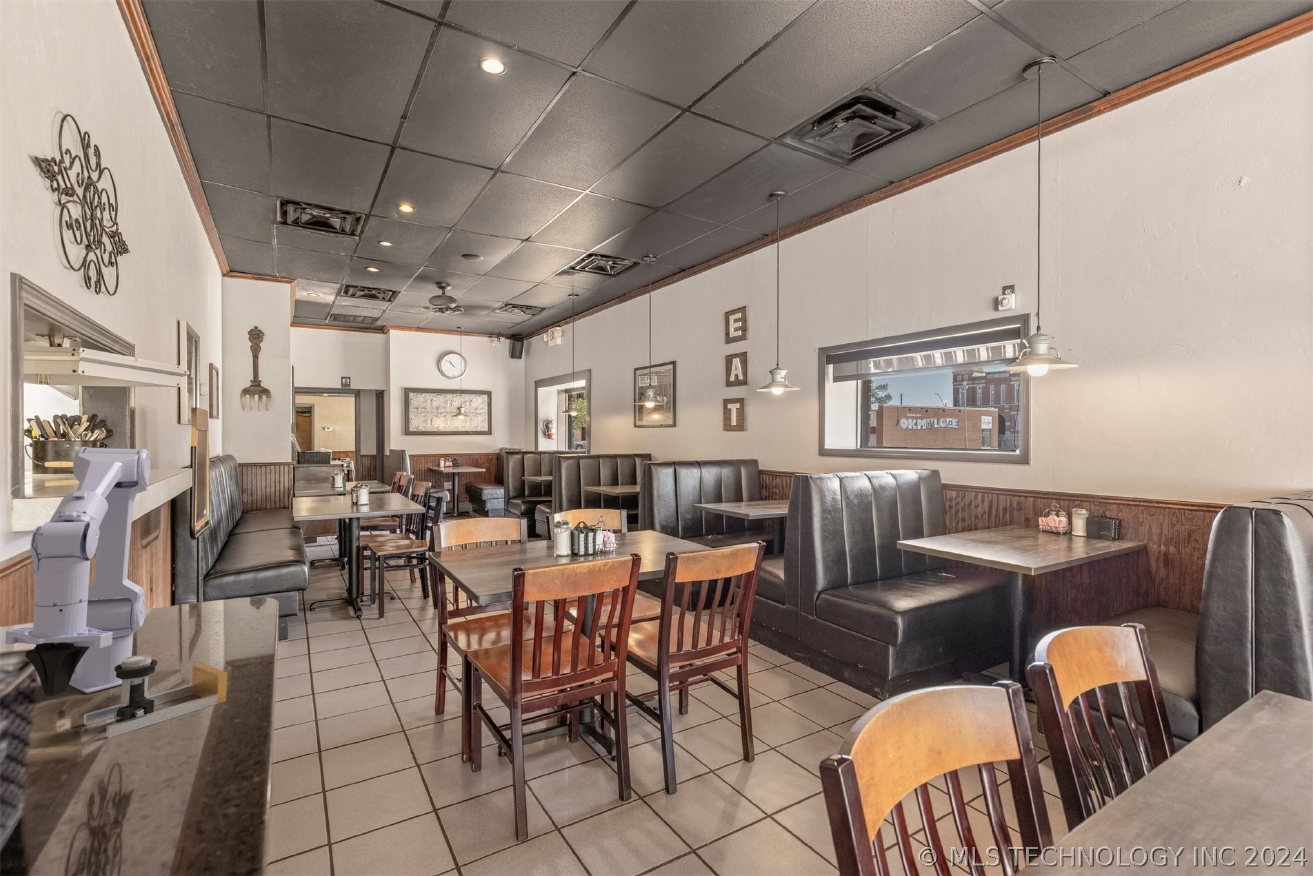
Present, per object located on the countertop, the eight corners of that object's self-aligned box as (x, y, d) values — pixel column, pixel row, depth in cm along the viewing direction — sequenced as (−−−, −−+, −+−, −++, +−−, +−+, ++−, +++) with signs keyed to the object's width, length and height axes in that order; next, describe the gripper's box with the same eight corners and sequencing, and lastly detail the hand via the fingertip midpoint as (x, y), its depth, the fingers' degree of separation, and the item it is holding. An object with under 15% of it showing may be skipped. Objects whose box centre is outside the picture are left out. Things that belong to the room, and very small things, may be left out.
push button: (120, 733, 94) (123, 668, 94) (92, 729, 95) (96, 665, 95) (162, 715, 101) (166, 655, 101) (136, 711, 102) (140, 651, 102)
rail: (83, 724, 97) (85, 692, 97) (200, 690, 111) (201, 663, 111) (108, 738, 93) (110, 705, 93) (225, 701, 107) (227, 672, 107)
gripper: (-16, 606, 87) (-22, 701, 86) (82, 611, 86) (76, 707, 86) (36, 595, 94) (30, 683, 94) (127, 599, 93) (121, 688, 93)
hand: (55, 693), depth 90 cm, fingers closed
